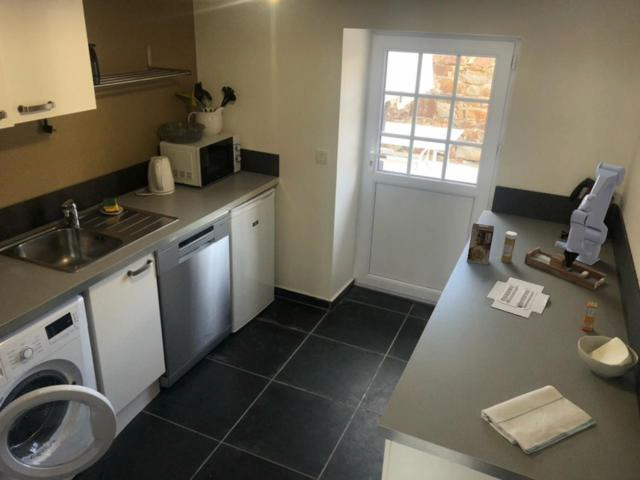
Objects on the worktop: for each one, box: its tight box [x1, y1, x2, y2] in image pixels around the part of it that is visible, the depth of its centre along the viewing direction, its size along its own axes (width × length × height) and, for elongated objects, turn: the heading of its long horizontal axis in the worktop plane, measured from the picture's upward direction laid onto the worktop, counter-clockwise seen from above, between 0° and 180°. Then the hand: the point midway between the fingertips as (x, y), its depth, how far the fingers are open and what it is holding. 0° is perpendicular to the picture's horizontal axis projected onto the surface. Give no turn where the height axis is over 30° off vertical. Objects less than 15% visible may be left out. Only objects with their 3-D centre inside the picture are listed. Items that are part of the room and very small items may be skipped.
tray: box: [486, 277, 551, 319], centre depth 206 cm, size 20×28×4 cm
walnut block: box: [549, 252, 566, 269], centre depth 227 cm, size 5×5×4 cm
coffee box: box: [466, 223, 495, 266], centre depth 231 cm, size 9×6×16 cm
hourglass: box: [581, 301, 598, 332], centre depth 186 cm, size 3×3×10 cm
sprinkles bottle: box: [500, 230, 518, 264], centre depth 232 cm, size 5×5×13 cm
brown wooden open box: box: [523, 246, 607, 291], centre depth 226 cm, size 11×30×4 cm, turn 42°
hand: (568, 267), depth 225 cm, fingers closed
